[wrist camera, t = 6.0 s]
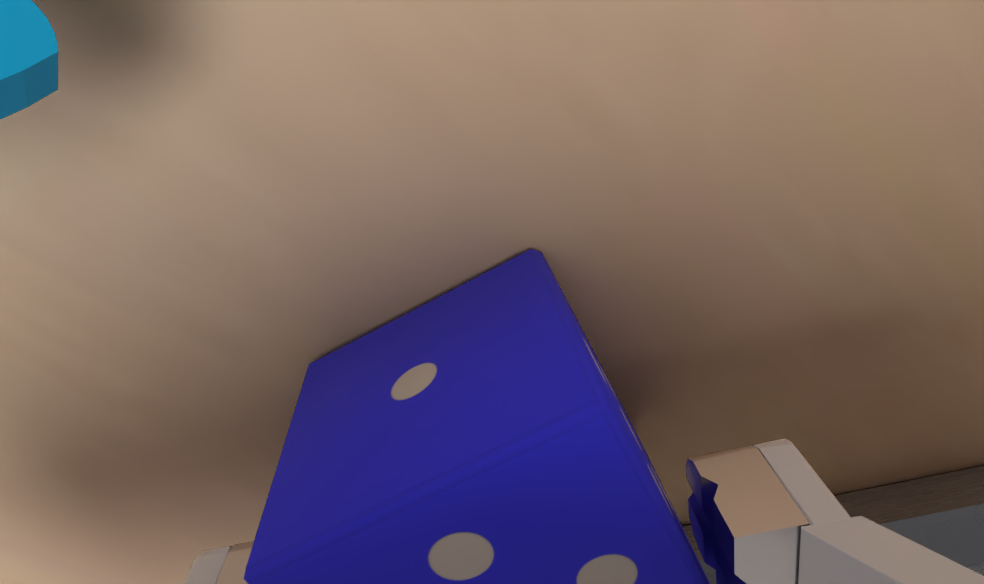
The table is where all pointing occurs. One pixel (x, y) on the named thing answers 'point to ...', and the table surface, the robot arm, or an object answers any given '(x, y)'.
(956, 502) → the open chest
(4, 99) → the gear
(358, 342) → the die
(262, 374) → the table surface
